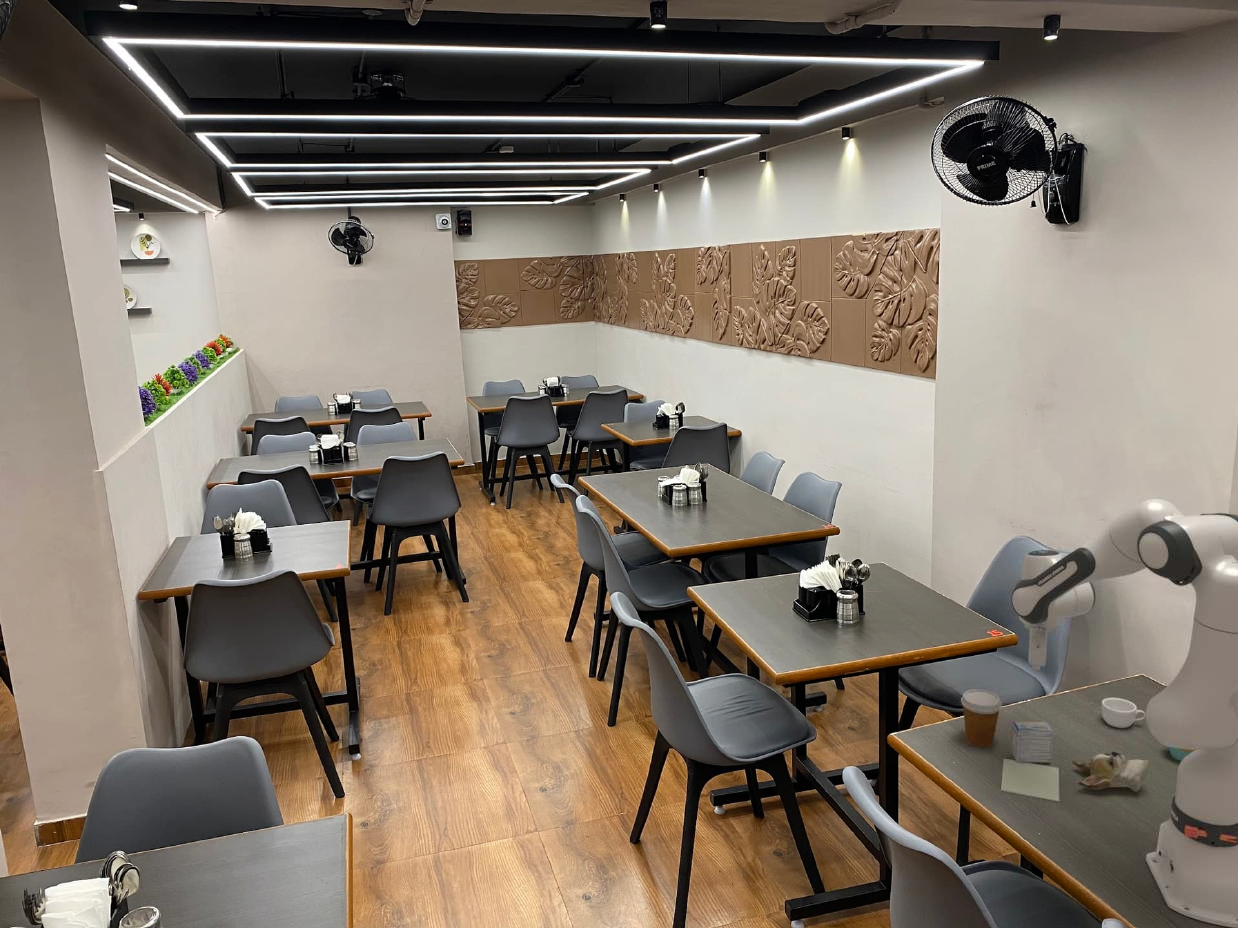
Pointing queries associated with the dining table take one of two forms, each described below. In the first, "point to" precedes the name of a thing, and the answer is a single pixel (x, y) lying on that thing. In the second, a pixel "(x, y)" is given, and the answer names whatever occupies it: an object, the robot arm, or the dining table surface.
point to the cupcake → (1180, 753)
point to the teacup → (1120, 712)
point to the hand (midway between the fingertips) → (1036, 667)
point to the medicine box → (1032, 742)
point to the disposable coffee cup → (980, 716)
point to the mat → (1030, 780)
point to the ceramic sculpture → (1113, 771)
